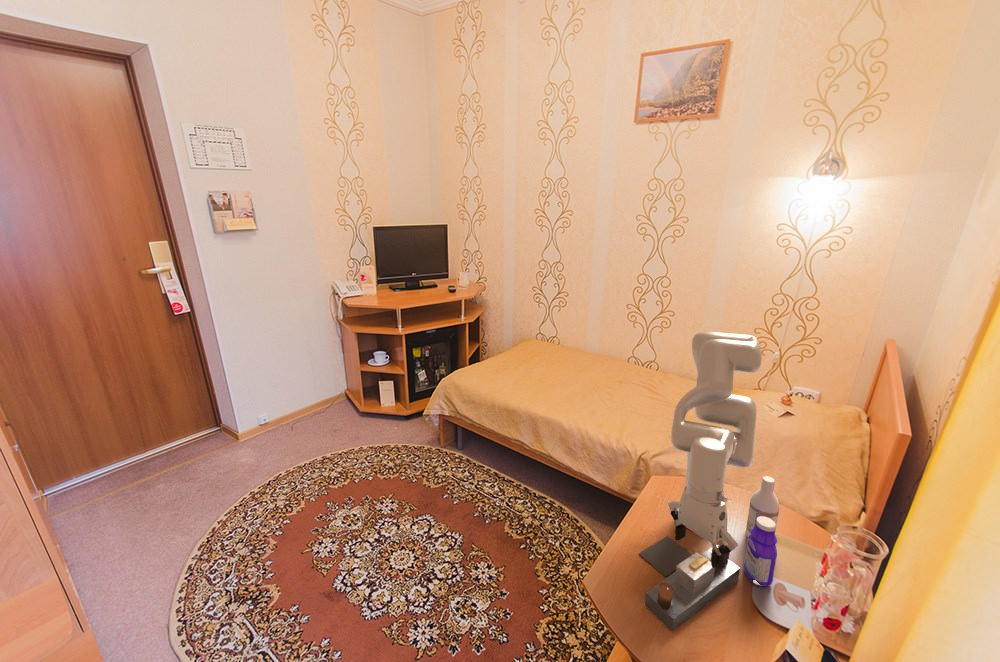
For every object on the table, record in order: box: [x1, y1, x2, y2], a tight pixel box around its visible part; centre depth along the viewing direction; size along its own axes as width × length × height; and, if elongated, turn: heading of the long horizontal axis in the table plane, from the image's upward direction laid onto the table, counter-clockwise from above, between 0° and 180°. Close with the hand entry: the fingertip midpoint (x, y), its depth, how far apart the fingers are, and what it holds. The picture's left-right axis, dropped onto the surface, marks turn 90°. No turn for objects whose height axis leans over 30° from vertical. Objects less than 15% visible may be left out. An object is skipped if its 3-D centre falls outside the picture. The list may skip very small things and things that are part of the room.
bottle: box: [743, 516, 778, 587], centre depth 104 cm, size 7×6×17 cm
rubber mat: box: [638, 535, 693, 578], centre depth 114 cm, size 12×9×1 cm
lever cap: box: [675, 551, 715, 595], centre depth 101 cm, size 8×5×5 cm, turn 120°
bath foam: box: [745, 475, 780, 538], centre depth 117 cm, size 7×7×20 cm
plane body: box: [644, 538, 741, 633], centre depth 102 cm, size 26×8×10 cm, turn 120°
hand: (697, 551), depth 99 cm, fingers open, 9 cm apart
